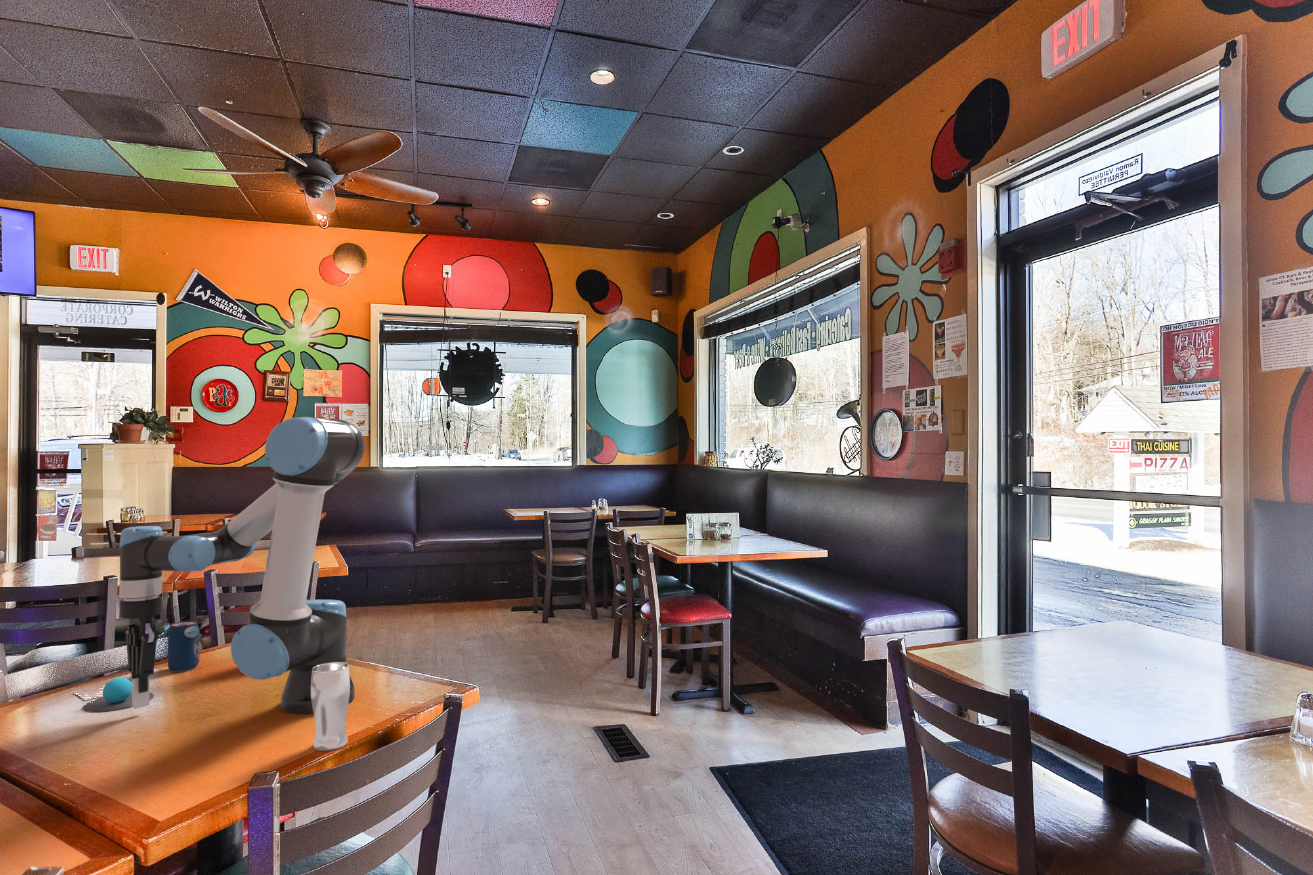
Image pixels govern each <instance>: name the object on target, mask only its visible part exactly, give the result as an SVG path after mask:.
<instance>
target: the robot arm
mask: <svg viewBox="0 0 1313 875" xmlns="http://www.w3.org/2000/svg"><path fill="white" fill-rule="evenodd" d="M365 453H366V441H365V439H364V435H363V434H362V432H361V431H360V429H359V428H358V427H357V426H355V424H353V423H351V422H349V421H346V420H343V419H338V418H332V419H330V418H320V417H319V418H318V417H312V416H301V417H300V416H299V417H291V418H287V419H285V420H283V421H281V422H280V423H278V424H277V425H275V426H274V427H273V429H272V430H271V431H270V433H269V435H268V436H267V438H266V441H265V446H264V454H265V455H264V456H265V459H266V460H267V461H268V465H269V466H270V468H271V469H272V470H273V475H272V480H273V481H274V482H275V483H274V485H272V486H271V487H270V488H268V490H267V491H265V492H264V493H263V494H262V495H260V496H259V497H258V498H257V499H255V500H254V501H253V502H252V503H251V504H250V505H248V506H246V508H245V509H243V510H242V511H240V512H239V514H237V515H236V516H235V517H234V518H232V519H231V520H229V522H227V523H226V524H225V525H224V526H223V527H221V528H220V529H218V530H215V531H209V532H203V533H201V532H200V533H196V534H187V535H175V536H174V535H171V536H169V535H164V533H163V528H162V527H161V526H158V525H143V526H142V525H140V526H130V527H126V528H123V529H122V531H121V533H120V541H119V546H118V548H119V591H118V593H119V595H118V596H119V598H120V599H122V600H120V601H119V617H120V618H121V619H125V620H126V619H127V620H129V621H128V623H129V624H128V625H127V626H124V628H123V629H124V630H123V631H124V635H125V639H126V640H125V641H126V652H127V653H126V655H127V657H126V658H127V669H128V672H129V673H130V674H131V680H132V681H131V683H132V707H131V708H133V709H134V710H135V709H140V708H143V707H148V706H150V701H149V692H150V676H151V675H153V674H154V673H155V662H156V652H157V651H156V650H157V642H158V638H159V635H160V634H159V632H158V631H155V629H156V628H155V627H156V626H155V622H154V621H153V617H154V616H158V615H160V614H161V613H162V612H163V597H162V596H161V594H162V592H163V590H162V589H163V588H162V587H163V585H164V584H165V580H164V579H163V571H164V572H182V573H191V572H201V571H205V570H206V569H207V568H208V567H210V566H211V567H212V566H214V565H219V564H225V563H233V562H238V561H240V560H243V559H246V558H248V557H250V556H251V555H252V554H253V553H254V551H255V549H256V546H257V543H258V542H259V541H260V540H261V539H263V538H264V537H266V536H267V535H268V534H269V533H270V532H271V536H270V541H269V547H268V553H267V558H266V564H265V570H264V571H265V572H264V574H263V575H264V577H263V582H262V583H263V584H262V587H261V593H260V599H259V601H258V602H256V603H255V604H253V605H252V606H251V607H250V608H249V614H248V618H247V624H246V625H243V626H242V627H240V628H239V630H237V631H236V632H235V634H233V637H232V640H231V642H230V655H231V657H232V660H233V663H234V664H235V665H236V666H237V668H238V670H239V671H240V672H241V673H242V674H244V675H245V676H246V677H247V678H249V679H253V680H259V681H264V680H268V679H271V678H275V677H279V676H282V675H283V674H285V673H287V672H288V671H289V673H288V676H287V679H286V682H285V684H284V685H285V686H284V688H283V690H282V694H281V696H280V697H281V698H280V708H281V710H282V711H283V712H286V713H291V714H314V713H313V708H312V702H311V677H312V668H313V667H315V666H317V665H320V664H324V663H330V662H345V663H347V619H348V615H347V610H346V609H347V608H346V607H347V606H346V604H345V602H344V601H342V600H337V599H308V592H309V587H310V581H311V580H310V579H311V574H312V569H313V562H314V558H315V557H314V556H315V552H316V546H317V545H316V544H317V538H318V534H319V528H320V523H321V517H322V511H323V506H324V500H325V495H326V494H325V493H326V492H327V491H329V490H330V489H331V488H333V487H334V486H335V484H338V483H339V482H341V481H342V480H343V479H344V478H346V477H347V476H348V475H349V474H350V473H352V472H353V471H354V470H355V469H356V468H357V467H358V466H359V465H360V463H361V462H362V460H363V459H364V455H365ZM306 598H307V600H306ZM349 675H350V696H349V703H351V702H353V700H354V699H355V698H356V697H355V685H354V683H353V680H352V676H351V674H350V673H349ZM349 703H348V704H349Z"/></svg>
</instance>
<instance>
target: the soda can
mask: <svg viewBox="0 0 1313 875" xmlns="http://www.w3.org/2000/svg"><path fill="white" fill-rule="evenodd" d="M167 632H168V633H167V667H168V669H169V670H170V672H173V673H181V672H182V673H183V672H187V671H192V670H195V669H196V668H197V667H198V665H199V664H200V627H199V625H198V622H197V621H196V620H185V621H184V620H183V621H178V622H173V623H171V624H170V627H169V630H168V631H167Z"/></svg>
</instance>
